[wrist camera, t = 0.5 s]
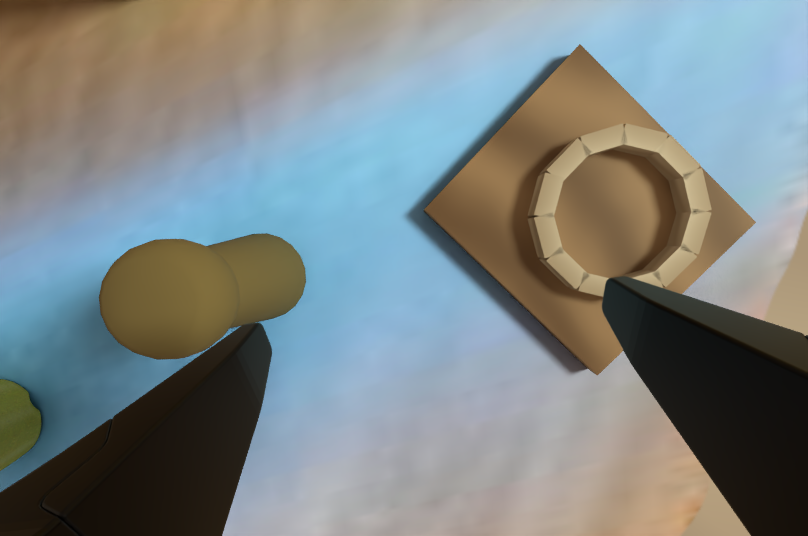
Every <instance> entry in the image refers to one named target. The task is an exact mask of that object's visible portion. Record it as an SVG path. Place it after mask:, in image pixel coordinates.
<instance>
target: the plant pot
mask: <svg viewBox="0 0 808 536" xmlns="http://www.w3.org/2000/svg"><path fill="white" fill-rule="evenodd" d="M40 431H41V414H40V411H39V410H38V409H36V408H35V407H34V406H33V405H32V403H31V401H30V398H29V393H28V392H27V391H26V390H25V389H24V388H23V387H21V386H20V385H18V384H16V383H14V382H11V381H8V380H4V379H0V471H1V470H2V469H4V468H5V467H7V466H8V465H10V464H11V463H13V462H14V461H16V460H17V459H18V458H20V457H21V456H23V455H24V454H25V453H27V452H28V451H29V450H30V449H31V448H32V447H33V446H34V445H35V443H36V441H37V439H38V437H39V434H40Z"/></svg>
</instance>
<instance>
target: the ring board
mask: <svg viewBox="0 0 808 536" xmlns="http://www.w3.org/2000/svg"><path fill="white" fill-rule="evenodd" d="M424 212H425V213H426V214H427V215H428V216H429V217H430V218H431V219H432V220H433V221H435V222H436V223H437V224H438V225H439V226H440V227H441V228H442V229H443V230H444V231H445V232H446V233H447V234H448V235H449V236H450V237H451V238H452V239H453V240H454V241H455V242H456V243H457V244H459V245H460V246H461V247H462V248H463V249H464V250H465V251H466V252H467V253H468V254H469V255H470V256H471V257H472V258H473V259H474V260H475V261H476V262H477V263H478V264H479V265H480V266H481V267H482V268H484V269H485V270H486V271H487V272H488V273H489V274H490V275H491V276H492V277H493V278H494V279H495V280H496V281H497V282H498V283H499V284H500V285H501V286H502V287H503V288H504V289H505V290H506V291H508V292H509V293H510V294H511V295H512V296H513V297H514V298H515V299H516V300H517V301H518V302H519V303H520V304H521V305H522V306H523V307H524V308H525V309H526V310H527V311H528V312H529V313H530V314H531V315H533V316H534V317H535V318H536V319H537V320H538V321H539V322H540V323H541V324H542V325H543V326H544V327H545V328H546V329H547V330H548V331H549V332H550V333H551V334H552V335H553V336H554V337H555V338H556V339H558V340H559V341H560V342H561V343H562V344H563V345H564V346H565V347H566V348H567V349H568V350H569V351H570V352H571V353H572V354H573V355H574V356H575V357H576V358H577V359H578V360H579V361H580V362H582V363H583V364H584V365H585V366H586V367H587V368H588V369H589V370H590V371H592V372H593V373H595V374H596V375H598V374H599V373H601V372H602V371H603V370H604V369H605V368H606V367H607V366H608V365H609V364H610V363H611V362H612V361H613V360H614V359H615V358H616V357H617V356H618V355H619V354H620V353H621V352H622V351H623V349H622V347H621V345H620V343H619V341H618V340H617V338H616V336H615V334H614V332H613V330H612V329H611V327H610V325H609V323H608V321H607V319H606V318H605V316H604V314H603V311H602V300H603V295H604V289H605V284H606V281H607V280H608V279H609V278H612V277H620V276H627V277H630V278H633V279H636V280H640V281H643V282H646V283H649V284H652V285H655V286H658V287H661V288H664V289H667V290H670V291H673V292H677V293H680V294H682V293H683V292H684V291H685V290H686V289H687V288H688V287H690V286H691V285H692V284H693V283H694V282H695V281H696V280H697V279H698V278H699V277H700V276H701V275H702V274H703V273H704V272H705V271H706V270H707V269H708V268H709V267H710V266H711V265H712V264H713V263H714V262H715V261H716V260H717V259H718V258H720V257H721V256H722V255H723V254H724V253H725V252H726V251H727V250H728V249H729V248H730V247H731V246H732V245H733V244H734V243H735V242H736V241H737V240H738V239H739V238H740V237H741V236H742V235H743V234H744V233H745V232H746V231H747V230H748V229H750V228H751V227H752V226H753V225H754V224H755V223H756V222H755V221H754V220H753V219H752V218H751V217H750V216H749V215H748V214H747V213H746V212H745V211H744V210H743V209H742V208H741V207H740V206H739V205H738V204H737V203H736V202H735V201H734V200H733V199H732V198H731V197H730V195H729V194H728V193H727V192H726V191H725V190H724V189H723V188H722V187H721V186H720V185H719V184H718V183H717V182H716V181H715V180H714V179H713V178H712V177H711V176H710V175H709V174H708V173H707V172H706V171H705V170H704V169H703V168H702V167H701V165H700V164H699V163H698V162H697V161H696V160H695V159H694V158H693V157H692V156H691V155H690V154H689V153H688V152H687V151H686V150H685V149H684V148H683V147H682V146H681V145H680V144H679V143H678V142H677V141H676V140H675V139H674V138H673V137H672V136H671V135H669V134H668V133H667V132H666V131H665V130H664V129H663V128H662V127H661V126H660V125H659V124H658V123H657V122H656V121H655V120H654V119H653V118H652V117H651V116H650V115H649V113H648V112H647V111H646V110H645V109H644V108H643V107H642V106H641V105H640V104H639V103H638V102H637V101H636V100H635V99H634V98H633V97H632V96H631V95H630V94H629V93H628V92H627V91H626V90H625V89H624V88H623V87H622V86H621V85H620V84H619V83H618V82H617V81H616V80H615V79H614V78H613V77H612V76H611V75H610V74H609V73H608V72H607V71H606V70H605V69H604V68H603V67H602V66H601V65H600V64H599V63H598V62H597V61H596V60H595V59H594V58H593V57H592V56H591V55H590V54H589V53H588V52H587V51H586V50H585V49H584V48H583V47H582V46H581V45H579V46H578V47H577V48H576V49H575V50H574V51H573V52H572V53H571V54H570V55H569V56H568V57H567V58H566V59H565V61H564V62H563V63H562V64H561V65H560V66H559V67H558V68H557V69H556V70H555V71H554V72H553V73H552V74H551V75H550V76H549V78H548V79H547V80H546V81H545V82H544V83H543V84H542V85H541V86H540V87H539V88H538V89H537V90H536V91H535V92H534V93H533V94H532V96H531V97H530V98H529V99H528V100H527V101H526V102H525V103H524V104H523V105H522V106H521V107H520V108H519V109H518V110H517V111H516V113H515V114H514V115H513V116H512V117H511V118H510V119H509V120H508V121H507V122H506V123H505V124H504V125H503V126H502V127H501V128H500V129H499V131H498V132H497V133H496V134H495V135H494V136H493V137H492V138H491V139H490V140H489V141H488V142H487V143H486V144H485V145H484V146H483V148H482V149H481V150H480V151H479V152H478V153H477V154H476V155H475V156H474V157H473V158H472V159H471V160H470V161H469V162H468V163H467V164H466V166H465V167H464V168H463V169H462V170H461V171H460V172H459V173H458V174H457V175H456V176H455V177H454V178H453V179H452V180H451V181H450V182H449V184H448V185H447V186H446V187H445V188H444V189H443V190H442V191H441V192H440V193H439V194H438V195H437V196H436V197H435V198H434V199H433V201H432V202H431V203H430V204H429V205H428V206H427V207H426V208H425V209H424Z"/></svg>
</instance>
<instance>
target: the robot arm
mask: <svg viewBox="0 0 808 536" xmlns="http://www.w3.org/2000/svg"><path fill="white" fill-rule="evenodd" d="M602 311H603V314H604V316H605V318H606V319H607V321H608V323H609V325H610V327H611V329H612V330H613V332H614V334H615V336H616V338H617V340H618V341H619V343H620V345H621V347H622V349H623V351H624V352H625V354H626V356H627V358H628V359H629V361H630V363H631V364H632V366H633V367H634V369H635V370H636V372H637V373H638V375H639V376H640V378H641V379H642V380H643V382H644V383H645V385H646V386H647V388H648V389H649V390H650V392H651V393H652V395H653V396H654V398H655V399H656V400H657V402H658V403H659V405H660V406H661V408H662V409H663V410H664V412H665V413H666V415H667V416H668V418H669V419H670V420H671V422H672V423H673V425H674V426H675V428H676V429H677V430H678V432H679V433H680V435H681V436H682V438H683V439H684V441H685V442H686V443H687V445H688V446H689V448H690V449H691V451H692V452H693V453H694V455H695V456H696V458H697V459H698V461H699V462H700V463H701V465H702V466H703V468H704V469H705V471H706V472H707V473H708V475H709V476H710V478H711V479H712V481H713V482H714V483H715V485H716V486H717V488H718V489H719V491H720V492H721V493H722V495H723V496H724V498H725V499H726V501H727V502H728V503H729V505H730V506H731V508H732V509H733V511H734V512H735V513H736V515H737V516H738V518H739V519H740V521H741V522H742V523H743V525H744V526H745V528H746V529H747V531H748V532H749V533H750V535H751V536H808V335H806V336H804V335H803V334H802V333H800V332H796V331H793V330H791V329H787V328H784V327H781V326H778V325H775V324H772V323H769V322H766V321H763V320H760V319H757V318H754V317H750V316H747V315H744V314H741V313H738V312H735V311H732V310H729V309H726V308H723V307H720V306H717V305H714V304H710V303H707V302H704V301H701V300H698V299H695V298H692V297H689V296H686V295H683V294H680V293H677V292H673V291H670V290H667V289H664V288H661V287H658V286H655V285H652V284H649V283H646V282H643V281H640V280H636V279H633V278H630V277H627V276H620V277H612V278H609V279H608V280H607V281H606V284H605V289H604V295H603V300H602ZM271 356H272V348H271V345H270V342H269V340H268V337H267V335H266V332H265V330H264V328H263V326H262V324H260V323H250V324H244V325H242V326H241V327H239V328H238V329H237V330H235V331H234V332H232V333H231V334H230V335H228V336H227V337H225V338H224V339H223V340H221V341H220V342H218V343H217V344H215V345H214V346H213V347H211V348H210V349H208V350H207V351H206V352H204V353H203V354H201V355H200V356H198V357H197V358H196V359H194V360H193V361H191V362H190V363H189V364H187V365H186V366H184V367H183V368H181V369H180V370H179V371H177V372H176V373H174V374H173V375H172V376H170V377H169V378H167V379H166V380H164V381H163V382H162V383H160V384H159V385H157V386H156V387H155V388H153V389H152V390H150V391H149V392H147V393H146V394H145V395H143V396H142V397H140V398H139V399H138V400H136V401H135V402H133V403H132V404H130V405H129V406H128V407H126V408H125V409H123V410H122V411H121V412H119V413H118V414H116V415H115V416H114V417H113V419H109V420H108V421H106V422H105V423H103V424H102V425H101V426H99V427H98V428H96V429H95V430H94V431H92V432H91V433H89V434H88V435H86V436H85V437H83V438H82V439H81V440H79V441H78V442H76V443H75V444H73V445H72V446H70V447H69V448H67V449H66V450H65V451H63V452H62V453H60V454H59V455H57V456H55V457H54V458H52V459H51V460H49V461H48V462H46V463H45V464H43V465H42V466H40V467H39V468H37V469H36V470H34V471H33V472H31V473H30V474H28V475H27V476H25V477H23V478H22V479H20V480H19V481H17V482H16V483H14V484H13V485H11V486H9V487H8V488H6V489H5V490H3V491H2V492H0V536H222V534H223V531H224V527H225V524H226V521H227V518H228V515H229V511H230V508H231V505H232V502H233V498H234V495H235V492H236V489H237V486H238V482H239V479H240V476H241V473H242V469H243V466H244V463H245V460H246V457H247V453H248V450H249V447H250V444H251V440H252V437H253V434H254V431H255V428H256V424H257V421H258V418H259V414H260V411H261V407H262V403H263V398H264V393H265V388H266V383H267V377H268V372H269V367H270V362H271Z"/></svg>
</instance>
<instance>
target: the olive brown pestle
mask: <svg viewBox="0 0 808 536" xmlns="http://www.w3.org/2000/svg"><path fill="white" fill-rule="evenodd" d="M305 283H306V277H305V267H304V265H303V262H302V259H301V257H300V255H299V254H298V253H297V251H296V250H295V249H294V248H293V246H292V245H291V244H289V243H288V242H286V241H285V240H283V239H282V238H280V237H277V236H274V235H270V234H252V235H248V236H244V237H240V238H236V239H233V240H229V241H225V242H221V243H217V244H213V245H210V246H204V245H202V244H198V243H195V242H191V241H188V240H184V239H161V240H153V241H150V242H148V243H145V244H142V245H140V246H137V247H134V248H132V249H129V250H128V251H127V252H126V253H124V254H123V255H122V256H121V257H120V258H119V259H117V260H116V261H115V262H114V263H113V265H112V266H111V267H110V269H109V271H108V272H107V274H106V276H105V277H104V279H103V281H102V285H101V290H100V295H99V302H100V312H101V316H102V318H103V320H104V323H105V325H106V327H107V329H108V331H109V332H110V333H111V334H112V335H113V337H114V338H115V339H116V340H117V341H118V342H119V343H120V344H121V345H123V346H124V347H126V348H128V349H129V350H131V351H132V352H134V353H137V354H140V355H143V356H147V357H150V358H154V359H179V358H185V357H188V356H191V355H193V354H196V353H199V352H202V351H203V350H205V349H207V348H209V347H210V346H212V345H213V344H214V343H215V342H217V341H218V340H219V339H220V338H222V337H223V336H224V334H225V333H226V332H227V331H228V329H229V328H233V327H238V326H242V325H244V324H250V323H255V322H259V321H264V320H268V319H273V318H275V317H278V316H281V315H283V314H286V313H287V312H288V311H289V310H291V309H292V308H293V307H294V306H295V305H296V304H297V302H298V301H299V299H300V298H301V296H302V294H303V291H304V287H305Z"/></svg>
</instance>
